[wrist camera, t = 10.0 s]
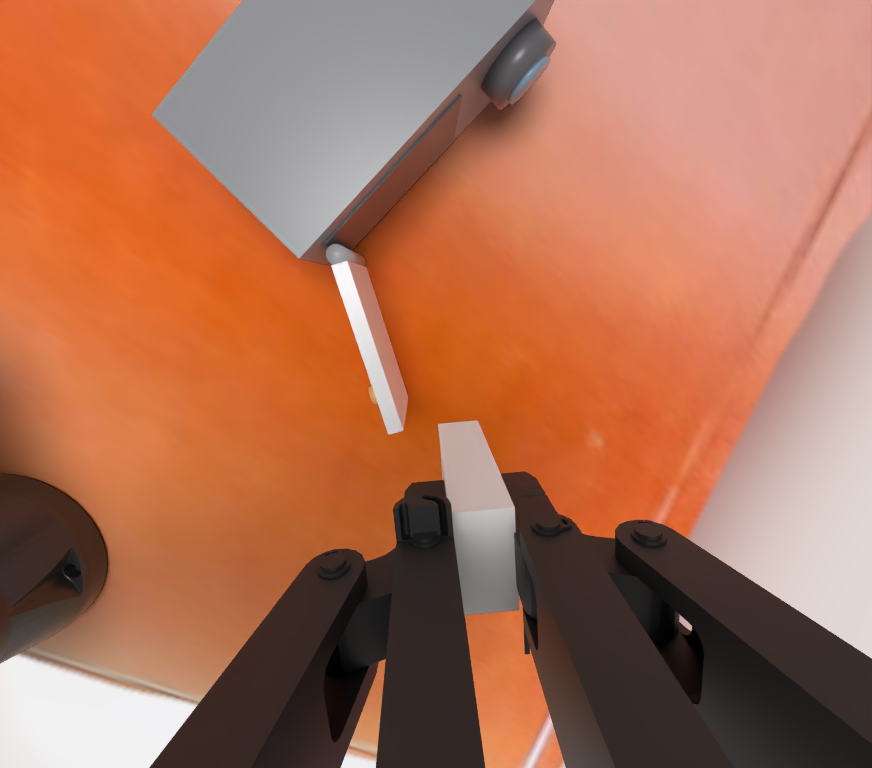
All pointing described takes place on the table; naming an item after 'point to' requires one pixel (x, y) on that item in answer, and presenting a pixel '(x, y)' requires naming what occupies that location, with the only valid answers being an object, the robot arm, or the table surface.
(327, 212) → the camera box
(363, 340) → the door
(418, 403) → the table surface
